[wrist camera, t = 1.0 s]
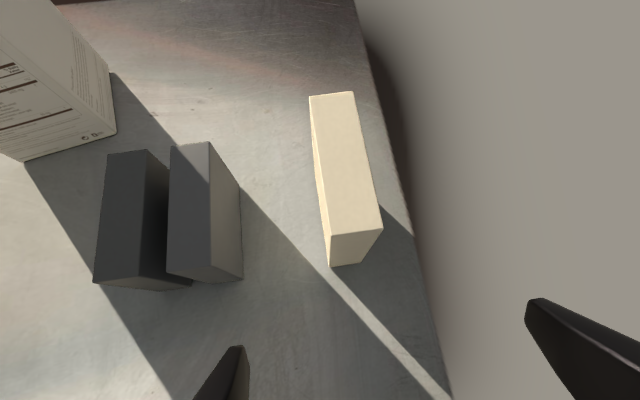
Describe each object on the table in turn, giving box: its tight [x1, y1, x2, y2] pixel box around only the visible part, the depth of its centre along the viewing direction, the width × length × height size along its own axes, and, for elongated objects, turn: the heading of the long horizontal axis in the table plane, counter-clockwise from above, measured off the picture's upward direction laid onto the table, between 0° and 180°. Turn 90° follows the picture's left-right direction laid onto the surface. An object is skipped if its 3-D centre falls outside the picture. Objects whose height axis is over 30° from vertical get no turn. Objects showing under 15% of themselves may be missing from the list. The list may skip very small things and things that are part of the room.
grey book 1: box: [166, 141, 244, 284], centre depth 21 cm, size 8×2×7 cm, turn 8°
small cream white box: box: [309, 91, 384, 267], centre depth 20 cm, size 8×2×10 cm, turn 8°
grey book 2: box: [92, 149, 192, 292], centre depth 21 cm, size 8×2×7 cm, turn 8°
